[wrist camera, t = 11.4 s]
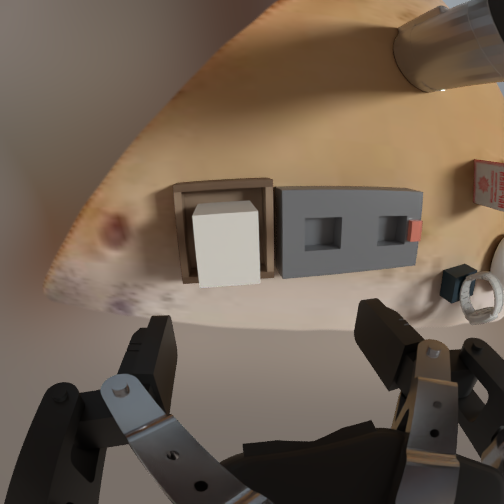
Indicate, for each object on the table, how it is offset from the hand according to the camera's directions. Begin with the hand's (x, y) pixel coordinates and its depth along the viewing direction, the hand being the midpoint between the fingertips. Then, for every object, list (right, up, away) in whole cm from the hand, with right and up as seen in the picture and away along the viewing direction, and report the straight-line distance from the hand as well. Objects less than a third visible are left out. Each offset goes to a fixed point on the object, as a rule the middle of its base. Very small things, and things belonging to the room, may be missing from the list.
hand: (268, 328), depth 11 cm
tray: (-4, +6, +19) cm, 20 cm away
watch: (+32, -1, +26) cm, 41 cm away
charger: (-3, +6, +19) cm, 20 cm away
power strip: (+10, +6, +20) cm, 24 cm away
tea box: (+35, +14, +21) cm, 43 cm away
